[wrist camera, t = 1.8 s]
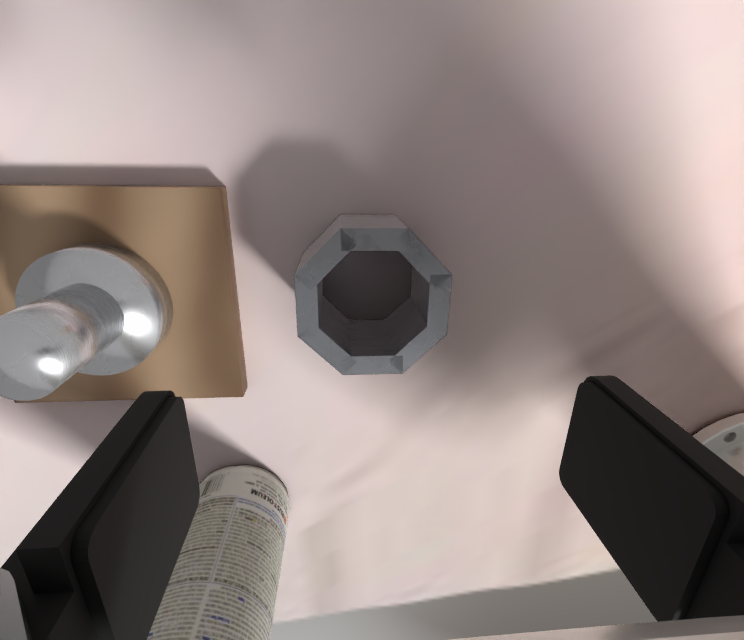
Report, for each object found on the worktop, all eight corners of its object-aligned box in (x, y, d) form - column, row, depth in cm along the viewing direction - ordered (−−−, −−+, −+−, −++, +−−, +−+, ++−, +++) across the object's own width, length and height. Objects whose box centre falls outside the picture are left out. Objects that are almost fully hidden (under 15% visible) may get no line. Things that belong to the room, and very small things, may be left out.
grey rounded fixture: (162, 242, 21) (83, 277, 15) (181, 357, 24) (121, 431, 17) (27, 242, 21) (-116, 279, 14) (60, 359, 23) (-49, 437, 17)
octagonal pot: (432, 214, 23) (455, 228, 18) (425, 334, 26) (443, 372, 21) (301, 214, 22) (291, 227, 18) (307, 335, 25) (299, 376, 20)
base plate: (225, 186, 22) (219, 187, 21) (247, 386, 26) (243, 396, 25) (-39, 184, 21) (-60, 185, 20) (29, 391, 25) (14, 402, 24)
